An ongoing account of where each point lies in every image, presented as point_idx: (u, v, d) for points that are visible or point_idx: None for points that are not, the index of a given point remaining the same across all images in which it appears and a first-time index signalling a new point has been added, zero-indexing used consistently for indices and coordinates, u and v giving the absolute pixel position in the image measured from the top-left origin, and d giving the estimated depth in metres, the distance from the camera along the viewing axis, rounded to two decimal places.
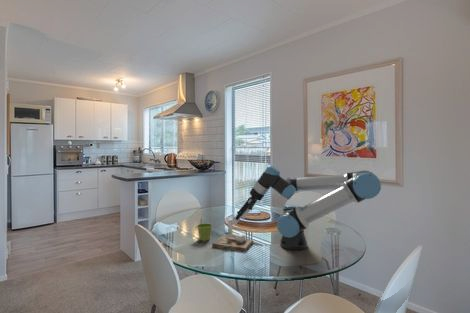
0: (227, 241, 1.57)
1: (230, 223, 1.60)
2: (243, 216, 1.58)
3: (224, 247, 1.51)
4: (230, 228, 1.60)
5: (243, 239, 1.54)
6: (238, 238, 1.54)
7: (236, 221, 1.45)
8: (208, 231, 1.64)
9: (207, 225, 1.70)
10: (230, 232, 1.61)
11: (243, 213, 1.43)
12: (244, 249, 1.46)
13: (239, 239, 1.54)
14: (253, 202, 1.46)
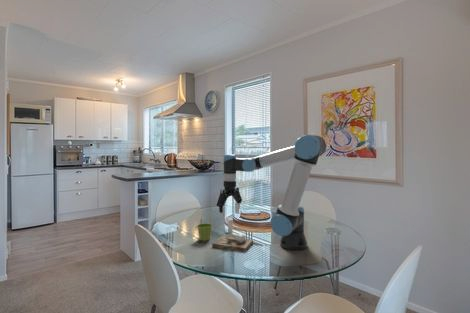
0: (227, 241, 1.57)
1: (230, 223, 1.60)
2: (237, 211, 1.66)
3: (224, 247, 1.51)
4: (230, 228, 1.60)
5: (243, 239, 1.54)
6: (238, 238, 1.54)
7: (222, 214, 1.56)
8: (208, 231, 1.64)
9: (207, 225, 1.70)
10: (230, 232, 1.61)
11: (222, 204, 1.55)
12: (244, 249, 1.46)
13: (239, 239, 1.54)
14: (229, 191, 1.58)
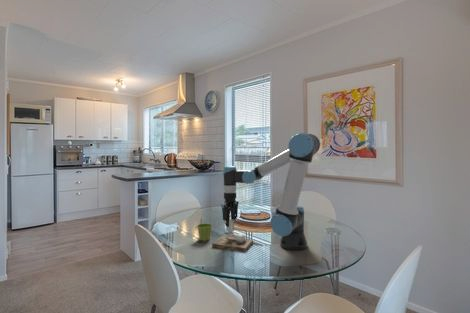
0: (227, 241, 1.57)
1: (230, 223, 1.60)
2: None
3: (224, 247, 1.51)
4: None
5: (243, 239, 1.54)
6: (238, 238, 1.54)
7: (228, 228, 1.60)
8: (208, 231, 1.64)
9: (207, 225, 1.70)
10: (230, 232, 1.61)
11: (228, 218, 1.59)
12: (244, 249, 1.46)
13: (239, 239, 1.54)
14: (229, 204, 1.59)
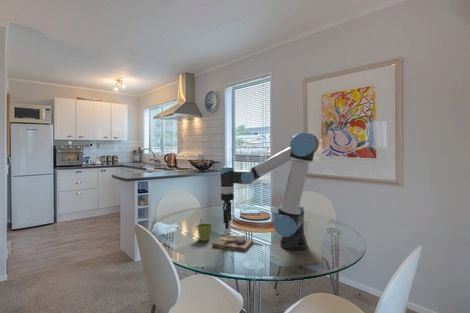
0: (227, 241, 1.57)
1: None
2: None
3: (224, 247, 1.51)
4: None
5: (244, 239, 1.55)
6: (240, 238, 1.54)
7: (228, 230, 1.57)
8: (208, 231, 1.64)
9: (207, 225, 1.70)
10: None
11: (228, 219, 1.55)
12: (244, 249, 1.46)
13: (241, 239, 1.54)
14: (229, 205, 1.56)
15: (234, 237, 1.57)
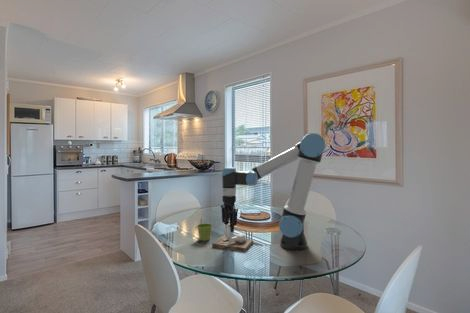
0: (227, 241, 1.57)
1: None
2: None
3: (224, 247, 1.51)
4: None
5: None
6: (244, 238, 1.55)
7: (232, 233, 1.51)
8: (208, 231, 1.64)
9: (207, 225, 1.70)
10: (231, 237, 1.52)
11: None
12: (244, 249, 1.46)
13: (244, 238, 1.55)
14: None
15: (236, 239, 1.54)
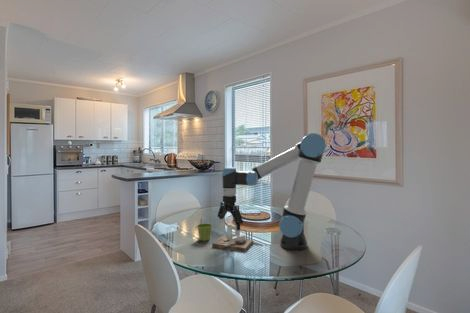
0: None
1: (231, 228, 1.51)
2: (223, 227, 1.57)
3: (224, 247, 1.51)
4: (231, 233, 1.51)
5: None
6: (244, 238, 1.55)
7: (238, 231, 1.46)
8: (208, 231, 1.64)
9: (207, 225, 1.70)
10: (231, 237, 1.51)
11: None
12: (244, 249, 1.46)
13: None
14: None
15: (237, 239, 1.54)
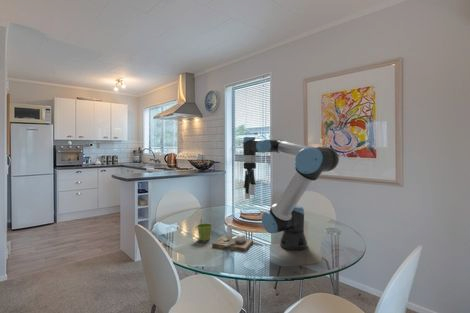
0: None
1: (231, 228, 1.51)
2: (252, 193, 1.71)
3: (224, 247, 1.51)
4: (231, 233, 1.51)
5: None
6: (244, 238, 1.55)
7: (248, 195, 1.58)
8: (208, 231, 1.64)
9: (207, 225, 1.70)
10: (231, 237, 1.51)
11: (249, 184, 1.57)
12: (244, 249, 1.46)
13: None
14: (251, 173, 1.62)
15: (237, 239, 1.54)
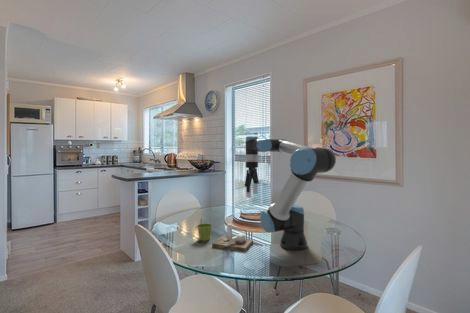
0: None
1: (231, 228, 1.51)
2: (255, 192, 1.73)
3: (224, 247, 1.51)
4: (231, 233, 1.51)
5: None
6: (244, 238, 1.55)
7: (249, 194, 1.60)
8: (208, 231, 1.64)
9: (207, 225, 1.70)
10: (231, 237, 1.51)
11: (250, 183, 1.59)
12: (244, 249, 1.46)
13: None
14: (253, 172, 1.64)
15: (237, 239, 1.54)
